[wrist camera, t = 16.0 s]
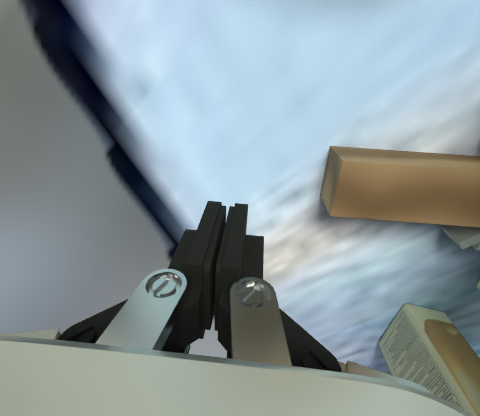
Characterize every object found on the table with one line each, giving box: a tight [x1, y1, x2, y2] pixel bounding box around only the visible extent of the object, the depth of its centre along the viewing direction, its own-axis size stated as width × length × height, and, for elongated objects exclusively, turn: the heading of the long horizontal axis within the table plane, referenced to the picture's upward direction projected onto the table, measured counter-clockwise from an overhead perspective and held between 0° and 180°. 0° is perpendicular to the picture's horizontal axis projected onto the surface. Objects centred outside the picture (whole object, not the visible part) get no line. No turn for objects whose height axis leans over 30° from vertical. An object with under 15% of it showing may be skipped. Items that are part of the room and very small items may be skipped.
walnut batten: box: [320, 146, 480, 227], centre depth 20 cm, size 4×15×4 cm, turn 87°
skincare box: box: [378, 304, 480, 416], centre depth 24 cm, size 6×4×12 cm
